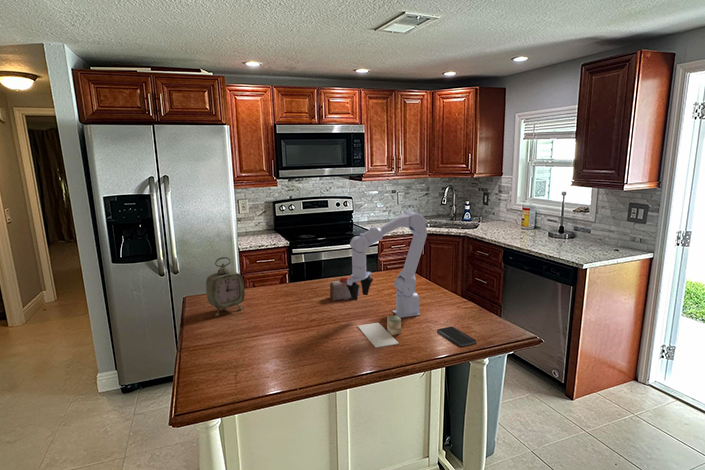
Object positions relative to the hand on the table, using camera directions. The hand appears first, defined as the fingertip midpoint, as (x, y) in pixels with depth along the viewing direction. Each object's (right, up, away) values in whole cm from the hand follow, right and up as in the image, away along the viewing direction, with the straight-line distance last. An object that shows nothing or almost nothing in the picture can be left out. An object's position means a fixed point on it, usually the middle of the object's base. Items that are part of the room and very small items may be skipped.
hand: (360, 297), depth 170 cm
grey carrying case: (-7, -5, +29) cm, 30 cm away
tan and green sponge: (+13, -12, -12) cm, 21 cm away
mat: (+6, -12, -14) cm, 20 cm away
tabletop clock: (-59, -9, +13) cm, 61 cm away
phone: (+36, -13, -17) cm, 41 cm away
